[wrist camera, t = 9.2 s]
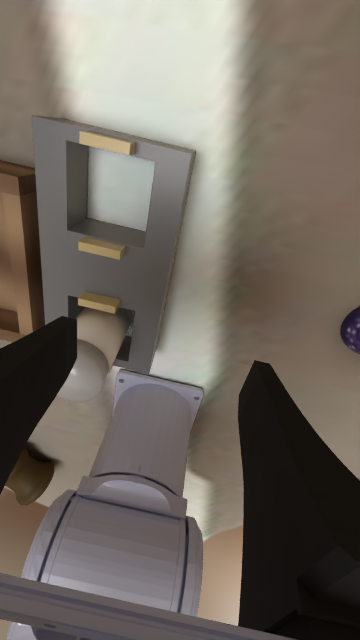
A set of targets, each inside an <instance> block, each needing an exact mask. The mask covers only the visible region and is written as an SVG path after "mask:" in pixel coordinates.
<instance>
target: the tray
mask: <svg viewBox="0 0 360 640" xmlns="http://www.w3.org/2000/svg"><path fill="white" fill-rule="evenodd" d="M44 325H45V313H44V298H43V282H42V267H41V252H40V236H39V221H38V206H37V190H36V175H35V169H34V168H30V167H26V166H22V165H17V164H13V163H9V162H5V161H1V160H0V339H2V340H6V341H11V342H15V341H17V340H19V339H21V338H23V337H24V336H26V335H28V334H30V333H32V332H34V331H36V330H37V329H39V328H41V327H43V326H44Z"/></svg>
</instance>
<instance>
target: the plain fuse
mask: <svg viewBox="0 0 360 640" xmlns="http://www.w3.org/2000/svg"><path fill="white" fill-rule="evenodd" d="M134 317H135V311H133V310H129V309H125V308H120V307H118V309H117V311H116V312H115V314H114V313H110V312H105V311H101V310H97V309H93V308H88V307H85V308H84V309H83V310H82V311H81V313H80V314H79V315H78V317H77V318H76V319H77V359H76V362H75V364H74V366H73V368H72V370H71V372H70V374H69V376H68V378H67V380H66V381H65V383H64V385H63V386H62V388H61V389H60V391H59V392H58V394H57V395H56V396H58V397H60V398H62V399H65V400H68V401H73V402H85V401H89V400H92V399H94V398H95V397H96V396H97V395H98V394H99V392H100V390H101V388H102V386H103V383H104V381H105V379H106V377H107V375H108V373H109V371H110V369H111V366H112V364H113V362H114V360H115V358H116V356H117V354H118V351H119V349H120V347H121V345H122V343H123V341H124V339H125V337H126V334H127V332H128V330H129V328H130V326H131V324H132V322H133V319H134Z"/></svg>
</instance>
